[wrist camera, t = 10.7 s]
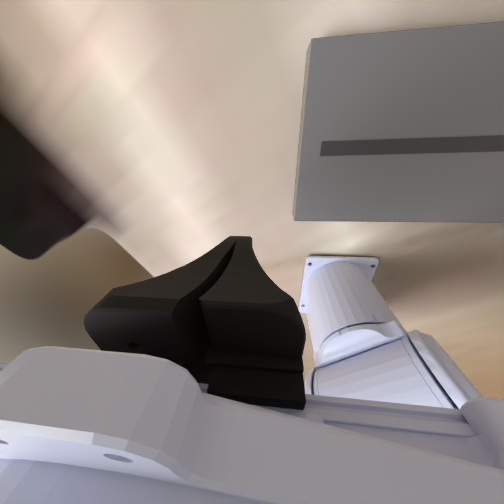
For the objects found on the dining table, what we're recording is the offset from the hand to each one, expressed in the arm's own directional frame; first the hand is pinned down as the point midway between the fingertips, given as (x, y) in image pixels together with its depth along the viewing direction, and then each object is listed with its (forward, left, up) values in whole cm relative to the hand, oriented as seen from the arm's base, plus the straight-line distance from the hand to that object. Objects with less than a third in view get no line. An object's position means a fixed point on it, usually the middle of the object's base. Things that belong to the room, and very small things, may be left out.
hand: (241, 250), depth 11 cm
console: (+5, -17, -9) cm, 20 cm away
